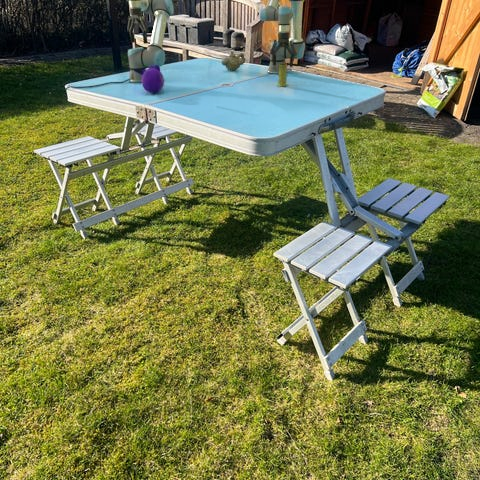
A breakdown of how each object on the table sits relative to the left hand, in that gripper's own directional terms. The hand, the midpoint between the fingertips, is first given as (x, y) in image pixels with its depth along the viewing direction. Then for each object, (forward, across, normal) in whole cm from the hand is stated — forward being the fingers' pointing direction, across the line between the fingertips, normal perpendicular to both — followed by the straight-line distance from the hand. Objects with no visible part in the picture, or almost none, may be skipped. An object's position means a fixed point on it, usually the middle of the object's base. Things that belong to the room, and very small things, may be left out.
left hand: (139, 43), depth 305 cm
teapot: (+28, -10, -85) cm, 90 cm away
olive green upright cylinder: (+29, -77, -61) cm, 102 cm away
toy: (+29, -14, +5) cm, 33 cm away
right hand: (+16, -77, -61) cm, 99 cm away
